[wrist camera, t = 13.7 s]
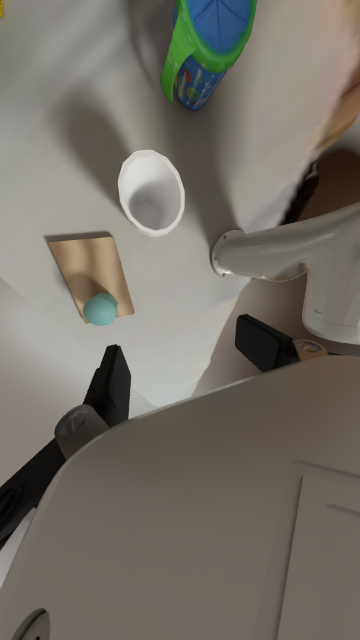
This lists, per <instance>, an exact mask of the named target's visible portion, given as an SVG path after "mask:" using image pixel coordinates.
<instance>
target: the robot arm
mask: <svg viewBox="0 0 360 640" xmlns="http://www.w3.org/2000/svg"><path fill="white" fill-rule="evenodd" d="M223 237H224V238H223ZM214 258H215V259H214ZM211 261H212V266H213V269H214V271H215V272H216V274H217V275H219V276H220V277H222V278H225V279H232V278H235V277H237V276H239V275H241V276H247V277H253V278H259V279H265V280H272V281H286V280H291V279H293V278H296V277H298V276H300V275H302V274H303V273H305V272H308V278H307V289H306V295H305V301H304V307H303V315H302V319H303V323H304V325H305V327H306V328H307V329H308V330H309V331H310V332H312V333H313V334H315V335H317V336H320V337H322V338H326V339H329V340H333V341H338V342H344V343H352V344H360V202H358V203H356V204H353V205H350V206H348V207H345V208H342V209H339V210H337V211H334V212H331V213H328V214H325V215H321V216H318V217H315V218H311V219H308V220H304V221H300V222H296V223H292V224H287V225H283V226H279V227H274V228H270V229H265V230H261V231H256V232H252V233H247V234H245V233H244V232H243V231H240V230H231V231H228V232H225V233H224V234H222V235H221V236H220V237H219V238H218V240H217V241H216V243H215V245H214V247H213V250H212V255H211ZM292 339H293V338H291V337H289V336H287V335H286V334H284V333H282V332H280V331H278V330H276V329H274V328H272V327H270V326H268V325H267V324H265V323H263V322H261V321H259V320H257V319H255V318H253V317H252V316H250V315H248V314H244V315H240V316H239V317H238V318H237V323H236V336H235V346H236V348H237V349H238V350H239V351H240V352H241V353H242V354H243V355H244V356H245V357H246V358H248V359H249V360H250V361H251V362H252V363H253V364H254V365H255V366H256V367H257V368H258V369H259V370H260V371H261V372H262V374H259V375H256V376H253V377H250V378H247V379H244V380H241V381H238V382H235V383H232V384H229V385H226V386H223V387H220V388H217V389H214V390H211V391H208V392H205V393H202V394H199V395H196V396H193V397H190V398H187V399H184V400H181V401H178V402H175V403H173V404H170V405H167V406H164V407H161V408H158V409H156V410H153V411H150V412H147V413H144V414H142V415H139V416H136V417H134V418H131V419H129V420H128V415H129V399H130V386H131V374H130V371H129V368H128V365H127V363H126V360H125V357H124V355H123V352H122V349H121V347H120V346H117V345H116V344H115V345H111V346H107V348H106V351H105V354H104V356H103V359H102V362H101V365H100V367H99V368H97V369H96V371H95V373H94V376H93V378H92V381H91V384H90V386H89V389H88V391H87V394H86V397H85V399H84V402H83V404H82V405H79V406H77V407H75V408H73V409H71V410H70V411H69V412H67V414H65V415H64V416H63V417H62V418H61V419H60V421H59V422H58V424H57V425H56V427H55V431H54V435H55V438H54V439H53V440H52V441H50V442H49V443H48V444H47V445H46V446H45V447H44V448H43V449H42V450H41V451H39V452H38V453H37V454H36V455H35V456H34V457H33V458H32V459H31V460H30V461H29V462H27V463H26V464H25V465H24V466H23V467H22V468H21V469H20V470H19V471H18V472H16V473H15V474H14V475H13V476H12V477H11V478H10V479H9V480H8V481H7V482H5V483H4V484H3V485H2V486H1V487H0V640H360V358H359V357H353V356H345V355H339V354H334V353H328V352H326V350H325V349H324V348H323V347H322V346H321V345H319V344H318V343H315V342H312V341H308V340H297V341H295V343H294V344H293V343H291V342H292Z"/></svg>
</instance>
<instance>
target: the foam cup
mask: <svg viewBox="0 0 360 640" xmlns="http://www.w3.org/2000/svg"><path fill="white" fill-rule="evenodd" d="M118 188H119V196H120V203H121V206H122V209H123V211H124V213H125V215H126V217H127V218H128V220H129V222H130V224H132V225H133V226H134V227H135V228H136V229H137V230H138V231H139V232H141V233H142V234H145V235H148V236H152V237H157V236H161V235H166V234H167V233H168V232H170V231H171V230H172V229H173V228H174V227H175V226H176V225H177V224H178V223H179V221H180V219H181V216H182V214H183V211H184V200H185V191H184V188H183V185H182V182H181V178H180V175H179V173H178V171H177V170H176V169H175V167H174V166H173V165H172V164H171V162H170V161H169V160H168V158H167V157H165V156H163V155H161V154H159V153H157V152H155V151H153V150H142V151H135V152H134V153H133V154H132V155H131V156H130V157H129V158H127V159H126V160H125V161H124V162H123V164H122V168H121V171H120V175H119V178H118Z"/></svg>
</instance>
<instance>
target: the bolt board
mask: <svg viewBox="0 0 360 640" xmlns="http://www.w3.org/2000/svg"><path fill="white" fill-rule="evenodd" d="M48 243H49V245H50V247H51V250H52V252H53V254H54V256H55V258H56V261H57V263H58V265H59V267H60V269H61V271H62V274H63V276H64V278H65V280H66V282H67V284H68V287H69V289H70V291H71V293H72V295H73V297H74V300H75V302H76V304H77V306H78V308H79V311H80V313H81V315H82V317H83V319H84V321H85V324H86V323H90V322H89V321H88V320H87V319H86V318H85V317H84V314H83V306H84V304H85V303H86V302H87V301H88V300H89V299H91V298H92V297H94V296H95V295H97V294H98V293H105V294H111V295H112V296H113V297H114V298H115V299H116V301H117V302H118V310H117V314H116V317H121V316H126V315H131V314H134V309H133V305H132V302H131V298H130V294H129V291H128V287H127V284H126V280H125V276H124V273H123V269H122V265H121V262H120V258H119V254H118V251H117V247H116V243H115V240H114V237H104V238H93V239H81V240H70V241H58V242H48ZM116 317H115V318H116Z"/></svg>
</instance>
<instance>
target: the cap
mask: <svg viewBox="0 0 360 640" xmlns="http://www.w3.org/2000/svg"><path fill="white" fill-rule="evenodd" d="M117 310H118V302H117V301H116V299H115V298H114V297H113V296H112V295H111V294H105V293H98V294H97V295H95V296H94V297H92V298H91V299H89V300H88V301H87V302H86V303H85V304H84V306H83V314H84V317H85V318H86V319H87V320H88V321H89V322H90V323H92V324H94V325H99V326H104V325H108V324H110V323H111V322H113V320H114V319H115V317H116V314H117Z"/></svg>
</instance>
